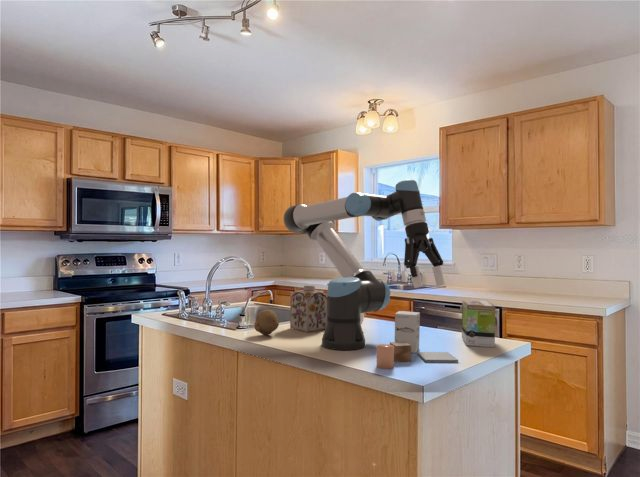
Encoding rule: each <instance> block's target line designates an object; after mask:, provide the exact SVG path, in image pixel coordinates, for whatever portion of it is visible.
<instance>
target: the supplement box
mask: <svg viewBox="0 0 640 477" xmlns="http://www.w3.org/2000/svg"><path fill="white" fill-rule="evenodd" d="M420 319H421V312H418V311H405V310H398V311H396V313H395V314H394V342H406V343H408V344H410V345H411V354H416V353H417V352H419V349H420V324H421V322H420Z"/></svg>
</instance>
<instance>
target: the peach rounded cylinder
mask: <svg viewBox="0 0 640 477" xmlns="http://www.w3.org/2000/svg"><path fill="white" fill-rule="evenodd" d="M376 367H377V368H378V369H381V370H382V369H383V370H391V369H392V370H393V369H394V368H395V362H394V346H393V345H390V343H389V344H388V343H379V344H377V345H376Z"/></svg>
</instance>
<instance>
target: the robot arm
mask: <svg viewBox="0 0 640 477" xmlns="http://www.w3.org/2000/svg"><path fill="white" fill-rule="evenodd" d="M420 192H421V191H420V189H419V186H418V183H417V181H416V180H414V179H404V180H401V181H399V182H397V183H395V191H394V192H392V193H390V194H388V195H379V194H369V193H364V192H352V193H350V194H349V195H348V196H346V197H341V198H336V199H331V200H326V201H322V202H317V203H313V204H308V205H306V204H296V205H292V206H289V207H288V208H287V209H286V210H285V211H284V214H283V223H284V226H285V228H286V229H287V230H288V231H290V232H291V233H293V234H294V233H295V234H297V235H299V234H301V235H307V237H308V238H309V239H310V241H312V242H313V243H315V244H318V245H319V247H320V248H321V250H322V251H323V252H324V254H325V255H326V257H327V258H328V259H329V260H330V262H331V264H333V266H334V268H335V269H336V270H337V271H338V273H339V274H340V275H339V276H341V277H338V278H335V279H331V280H330V281H329V282H328V284H327V290H326V296H327V325H326V328H325V330H324V332H323V335H322V338H321V346H323V347H324V348H327V349H330V350H336V351H337V350H338V351H352V350H354V351H355V350H360V349H363V348H365V347H366V337H365V335H364V331H363V328H362V324H360V316H361V313H364V314H366V313H373V312H374V313H376V312H378V311H381V310H384V309H386V307H387V306H388V305H389V303H390V300H391V289H390V286H389V284H388V282H386V281H385V280H383V279H380V278H376V276H375V275H374V274H373V273H372V271H371V270H368V269H365V268H363V266H362V264H361V263H360V262H359V261H358V259H357V258H356V257H355V255H354V254H353V253H352V251H351V250H350V249H349V248H348V246H347V245H346V243H345V242H344V241H343V240H342V238H341V237H340V236H339V235H338V233H337V232H336V221H339V220H346V219H351V218H358V217H371V218H372V219H374V220H375V221H377V222H381V221H384V220H387V219H390V218H391V217H394V216H396V215H398V214H401V218H402V221H403V222H402V224H403V227H405V228H404V232H405V235H406V238H404V245H405V246H404V247H405V248H404V260H403V265H404V266H405V268H406V269H409V270H410V275H411V280H412V283H413V288H414V289H417V288H421V287H423V280H422V276H421V273H420V267H419V266H417V264H418V260H419V255H420V253H422V254H424V255H425V256H426V257H427V259H428V260H429V262H430V263H431V265H432V271H433V276H434V281H435V285H436V287H438V286H444V285H445V284H446V283H445V280H444V275H443V271H442V267H441V266H443V265H444V260H443V259H442V256H441V254H440V252H439V250H438V248H437V247H436V244H435V242H434V239H433V238H432V237H430V238H428V237H427V235H428V234H430V231H429V227H428V223H427V222H426V221H427V219H426V214H425V213H426V212H425V209H424V205H423V203H422V197H421V193H420Z"/></svg>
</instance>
